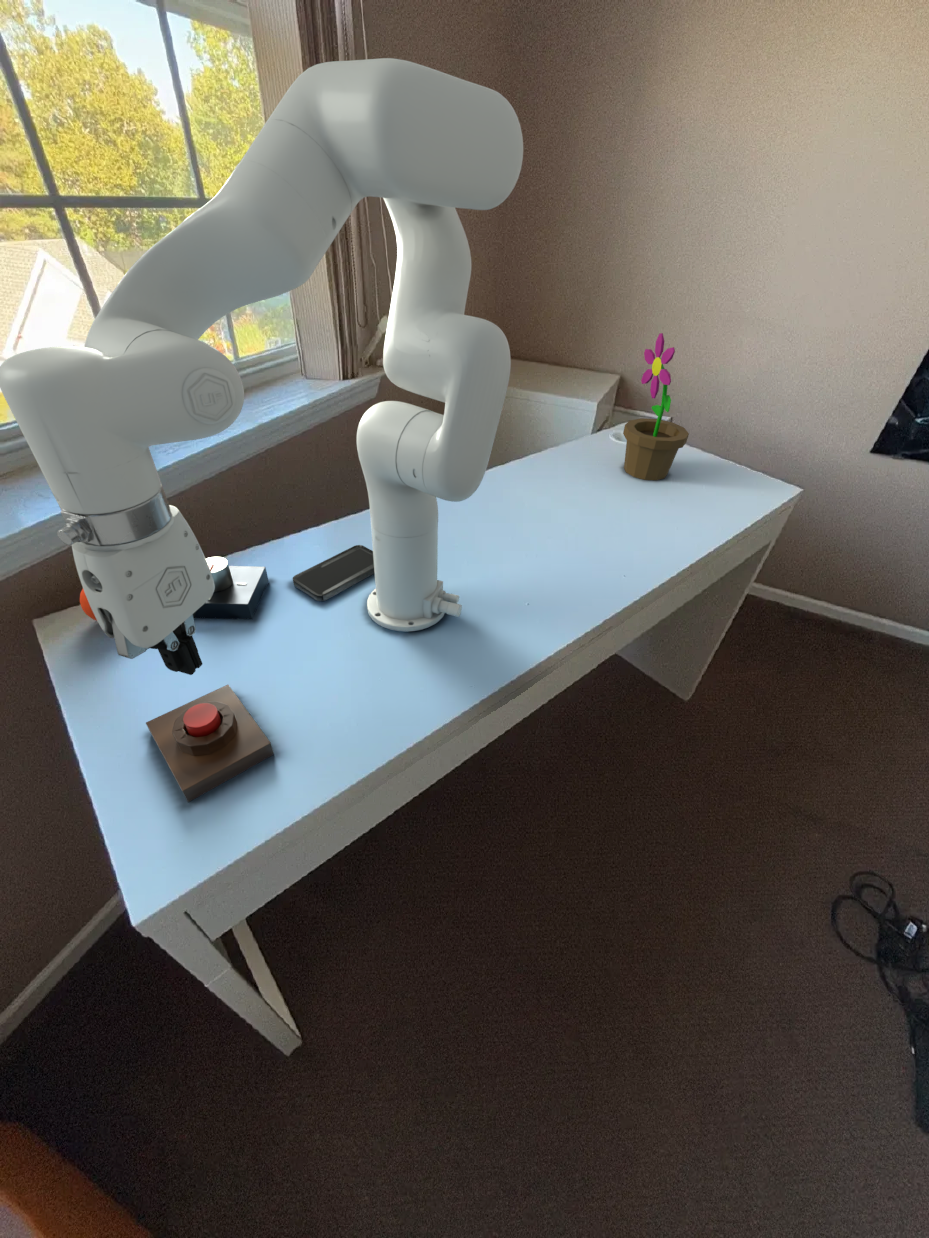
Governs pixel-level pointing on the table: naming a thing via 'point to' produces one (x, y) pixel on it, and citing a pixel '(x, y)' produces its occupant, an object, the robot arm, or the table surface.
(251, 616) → the panel
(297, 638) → the table surface
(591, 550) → the table surface
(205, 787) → the button block
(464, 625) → the table surface
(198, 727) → the button
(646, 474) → the flowerpot
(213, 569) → the hob knob
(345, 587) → the phone
